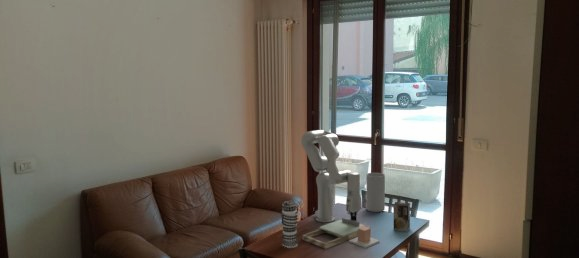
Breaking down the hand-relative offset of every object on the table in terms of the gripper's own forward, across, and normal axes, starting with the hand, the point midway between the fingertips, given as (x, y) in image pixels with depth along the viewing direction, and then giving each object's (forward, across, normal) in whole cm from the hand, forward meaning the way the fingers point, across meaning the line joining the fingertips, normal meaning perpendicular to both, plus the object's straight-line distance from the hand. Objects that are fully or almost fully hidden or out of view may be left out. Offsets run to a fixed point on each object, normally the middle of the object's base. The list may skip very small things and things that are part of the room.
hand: (353, 221), depth 258 cm
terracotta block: (+4, -12, -18) cm, 22 cm away
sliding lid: (+2, -11, 0) cm, 11 cm away
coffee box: (+5, +20, -21) cm, 29 cm away
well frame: (+5, -15, 0) cm, 16 cm away
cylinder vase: (+5, +40, +13) cm, 43 cm away
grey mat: (+4, -12, -18) cm, 22 cm away
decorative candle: (+5, -45, +9) cm, 46 cm away
